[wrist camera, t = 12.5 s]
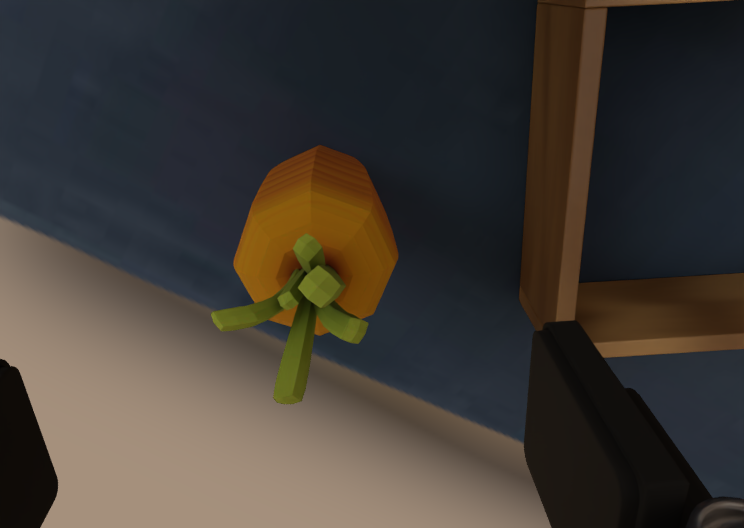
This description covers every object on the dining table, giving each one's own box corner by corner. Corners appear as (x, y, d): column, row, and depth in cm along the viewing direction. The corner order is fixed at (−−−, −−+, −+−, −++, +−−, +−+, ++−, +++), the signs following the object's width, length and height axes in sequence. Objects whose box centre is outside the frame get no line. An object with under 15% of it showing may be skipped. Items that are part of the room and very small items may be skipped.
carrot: (328, 239, 29) (317, 465, 16) (245, 169, 28) (152, 353, 14) (402, 164, 28) (461, 340, 14) (320, 86, 26) (297, 200, 13)
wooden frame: (518, 300, 31) (552, 361, 26) (538, -19, 25) (587, -19, 20) (804, 282, 31) (891, 339, 26) (892, -37, 25) (1028, -41, 20)
